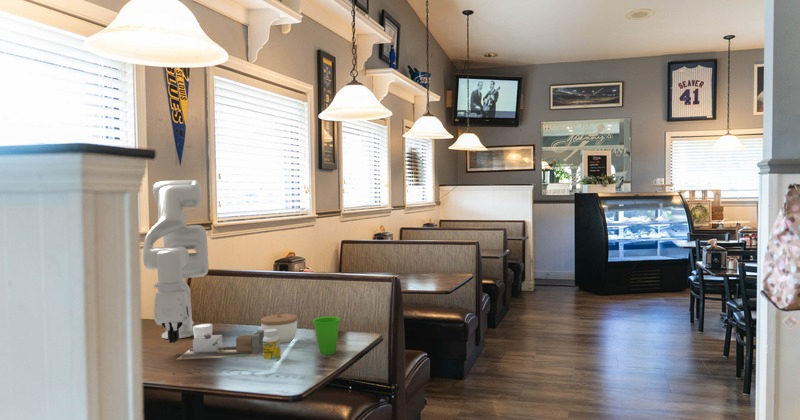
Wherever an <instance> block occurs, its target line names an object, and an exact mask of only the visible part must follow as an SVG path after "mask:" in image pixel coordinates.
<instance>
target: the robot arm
mask: <svg viewBox="0 0 800 420" xmlns="http://www.w3.org/2000/svg"><path fill="white" fill-rule="evenodd" d="M152 193H153V196H154V200H155V203H156V204H157V222H156V223H155V224H154V225H153V226H152V227H151V228H150V229H149V230H148V231H147V233H146V235H145V237H144V240H143V247H142V248H143V253H142V255H143V256H142V259H143V260H142V261H143V264H144V265H143V266H144V267H145V268H146V269H147V270H151V271H155V270H157V283H155V284H153V285H154V286H153V287H154V289H157V291H156V292H155V296H154V304H153V305H154V307H153V308H154V309H153V314H154V315H153V317H154V322H155V325H156V326H157V325H158V326H162V327H163V328H164V329H165V332H162V334H161V338H162V339H166V340H168V342H169V343H170V344H172V343H173V344H175V343H177V342H178V341H179V339H183V338H190V337H194V333H193V325H194V323H195V322H194V320H193V316H192V300H191V299H192V298H191V296H192V294H191V288H190V286H189V285H188V284H187V282H185V280H183V279H189V278H190V279H191V278H202V277H205V276H206V275H208V274H209V273H208V272H209V269H210V268H209V265H210V264H209V251H208V247H209V246H208V236H207V235H208V234H207V230H206V229H205V227H204V226H203V225H199V224H194V225H193V224H191V225H187V220H186V219H187V217H186V216H187V215H186V211H184V208H196V207H197V208H198V207H199V206H200V204H201V203H202V196H203V195H202V185H201V183H200V182H199V181H198V180H197V179H184V180H183V179H181V180H178V179H175V180H161V181H157V182H155V183H154V184H153V186H152ZM161 238H162V239H163V241H162V242H163V245H164V246H159V247H158V246H156V247H153V246H154V244H155V243H156V242H157V241H158V240H159V239H161ZM189 250H190V251H191V250H193V251H195V252H189Z"/></svg>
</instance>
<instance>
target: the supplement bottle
mask: <svg viewBox="0 0 800 420" xmlns="http://www.w3.org/2000/svg"><path fill="white" fill-rule="evenodd" d="M264 335H265V337H264V338H263V350H262V354H263V359H266V360H267V359H268V360H272V359H276V362H279V361H280V360H281V358H282V353H281V343H280V337H279V336H278V335H277V329H267V330H265V331H264Z"/></svg>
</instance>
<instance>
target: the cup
mask: <svg viewBox="0 0 800 420" xmlns="http://www.w3.org/2000/svg"><path fill="white" fill-rule="evenodd" d="M340 321H341V317H339V316H333V315H332V316H322V317H321V316H320V317H316V318H314V319H312V323H313V325H314V329H315V333H316V335H315V336H316V339H317V344H318V350H319V353H320V354H321V355H324V356H328V355H333V354H335V353H336V352H337V345H338V336H339V327H340Z"/></svg>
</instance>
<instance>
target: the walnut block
mask: <svg viewBox="0 0 800 420" xmlns="http://www.w3.org/2000/svg"><path fill="white" fill-rule="evenodd" d="M253 334H254V333H253ZM253 334H252V333H251V334H250V333H249V334H240V335H238V336H237V337H236V338H235V347H236V351H237V352H246V351H250V353H252V335H253Z"/></svg>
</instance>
